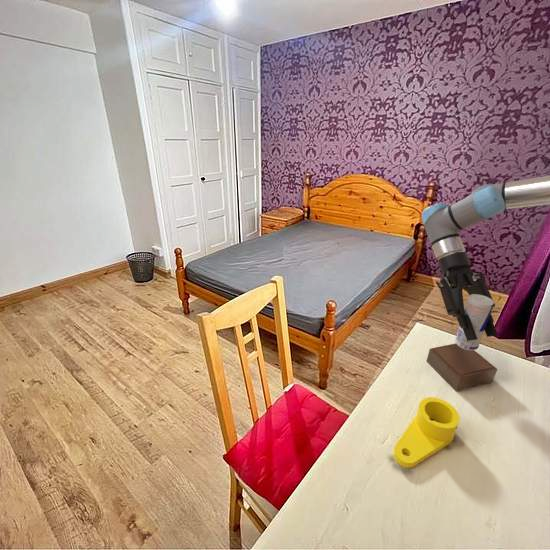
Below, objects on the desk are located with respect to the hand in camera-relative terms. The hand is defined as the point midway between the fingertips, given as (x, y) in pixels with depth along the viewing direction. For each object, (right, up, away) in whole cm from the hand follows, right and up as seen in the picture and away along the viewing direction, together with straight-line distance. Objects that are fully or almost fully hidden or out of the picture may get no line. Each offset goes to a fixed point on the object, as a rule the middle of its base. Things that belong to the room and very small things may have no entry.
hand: (482, 337), depth 79 cm
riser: (0, -12, +10) cm, 16 cm away
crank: (-20, -22, -9) cm, 31 cm away
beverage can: (-1, -3, +6) cm, 7 cm away
